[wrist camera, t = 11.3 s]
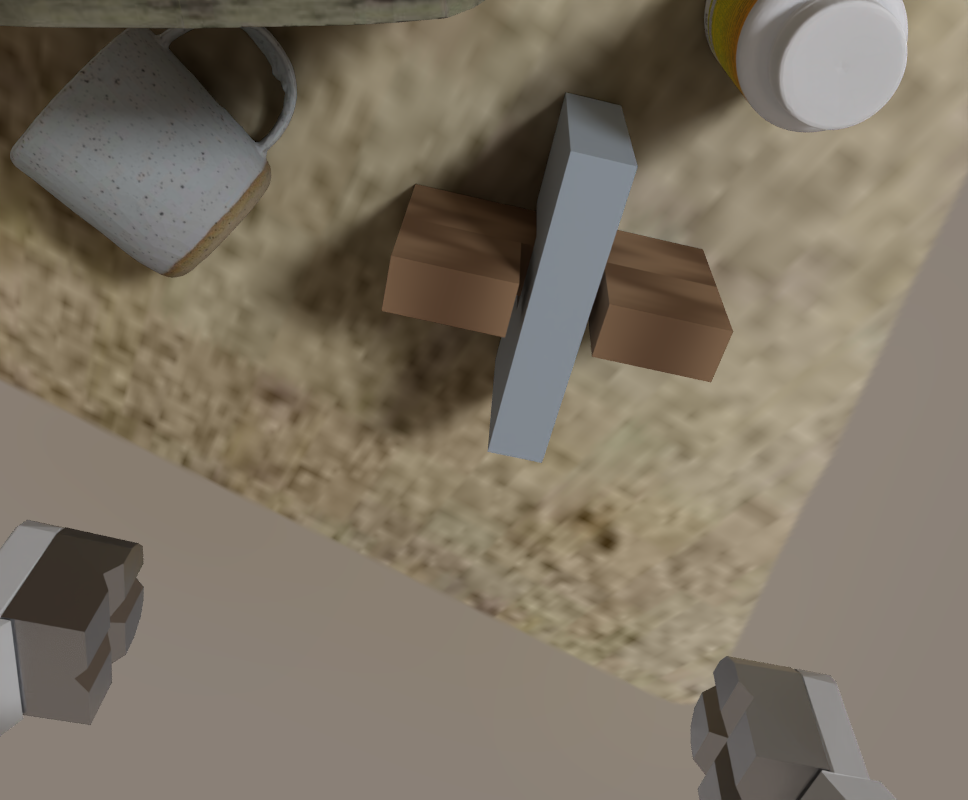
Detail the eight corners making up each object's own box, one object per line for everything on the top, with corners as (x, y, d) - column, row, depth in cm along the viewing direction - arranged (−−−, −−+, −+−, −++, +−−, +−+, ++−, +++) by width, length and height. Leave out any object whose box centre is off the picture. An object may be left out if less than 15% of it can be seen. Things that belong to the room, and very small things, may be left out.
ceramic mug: (202, 247, 43) (146, 320, 37) (61, 122, 40) (-28, 178, 34) (348, 102, 39) (313, 155, 33) (203, -51, 36) (134, -24, 30)
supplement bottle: (706, 89, 38) (754, 169, 30) (696, -52, 35) (746, -8, 27) (841, 63, 37) (930, 138, 29) (842, -84, 34) (942, -49, 26)
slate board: (565, 92, 38) (571, 151, 32) (621, 105, 39) (637, 166, 32) (495, 359, 46) (487, 451, 39) (541, 369, 46) (541, 462, 40)
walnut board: (406, 232, 42) (381, 310, 36) (415, 183, 41) (391, 255, 34) (685, 295, 43) (710, 382, 37) (703, 249, 42) (733, 331, 35)
